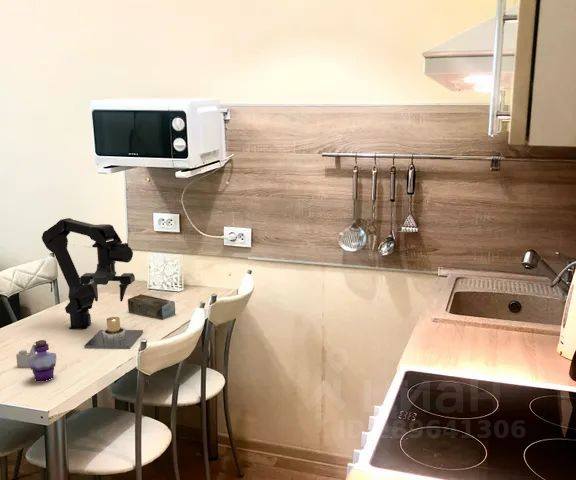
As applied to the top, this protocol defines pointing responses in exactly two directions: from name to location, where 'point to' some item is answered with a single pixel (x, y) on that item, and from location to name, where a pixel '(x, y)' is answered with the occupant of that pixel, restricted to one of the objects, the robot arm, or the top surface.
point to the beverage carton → (151, 306)
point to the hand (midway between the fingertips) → (109, 301)
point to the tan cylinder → (113, 325)
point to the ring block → (114, 339)
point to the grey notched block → (24, 357)
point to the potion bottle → (42, 361)
